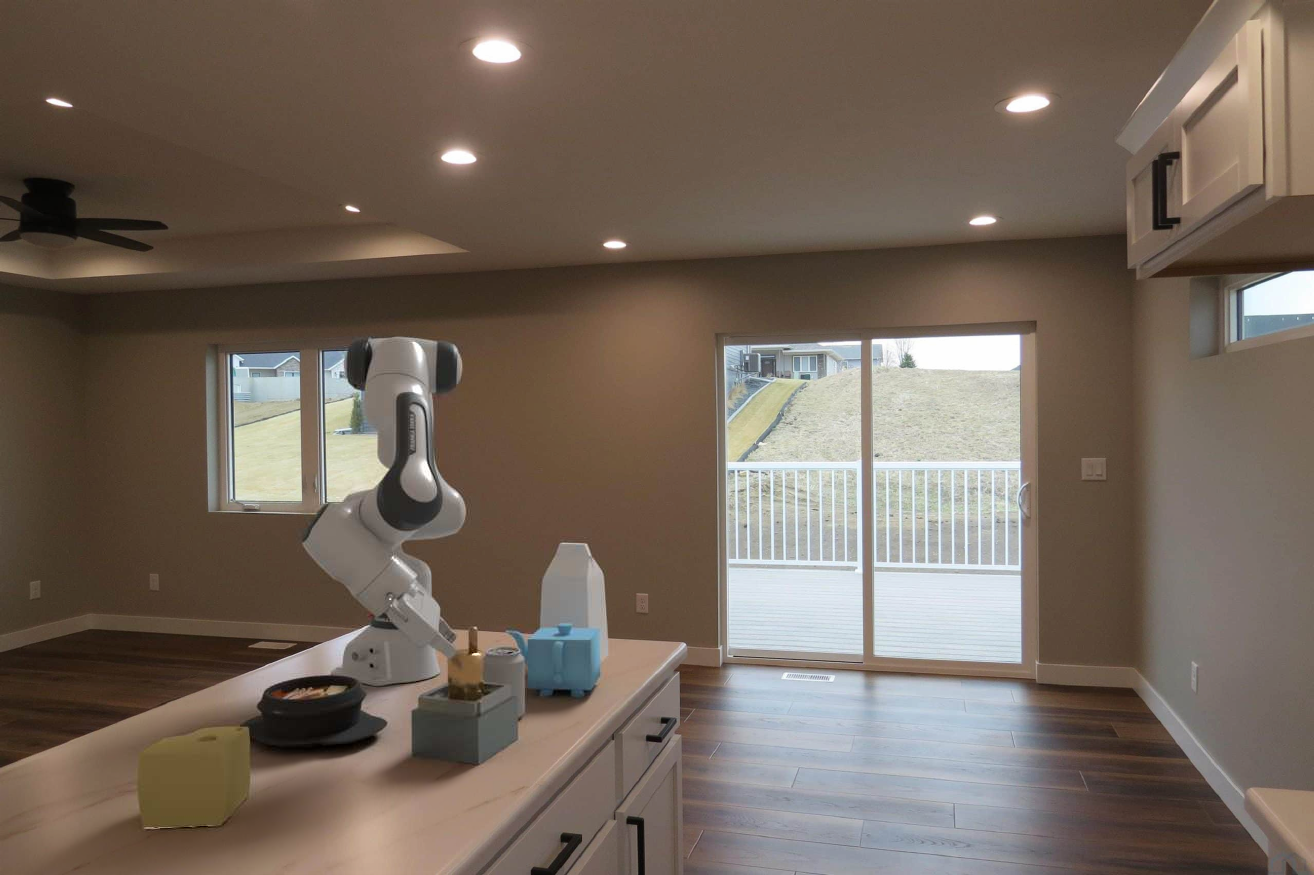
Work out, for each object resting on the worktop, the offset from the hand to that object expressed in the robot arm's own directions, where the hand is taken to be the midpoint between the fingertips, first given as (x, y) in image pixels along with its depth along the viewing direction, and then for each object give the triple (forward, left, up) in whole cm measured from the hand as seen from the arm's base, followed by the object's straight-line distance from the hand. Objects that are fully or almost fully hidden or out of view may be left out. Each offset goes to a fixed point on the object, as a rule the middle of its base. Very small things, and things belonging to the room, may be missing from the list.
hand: (454, 647), depth 140 cm
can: (0, +16, -16) cm, 23 cm away
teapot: (0, +34, -16) cm, 38 cm away
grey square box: (+2, +1, -16) cm, 16 cm away
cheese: (-18, -32, -16) cm, 40 cm away
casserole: (-25, -3, -16) cm, 30 cm away
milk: (-5, +55, -16) cm, 57 cm away
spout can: (+2, +1, -8) cm, 9 cm away
